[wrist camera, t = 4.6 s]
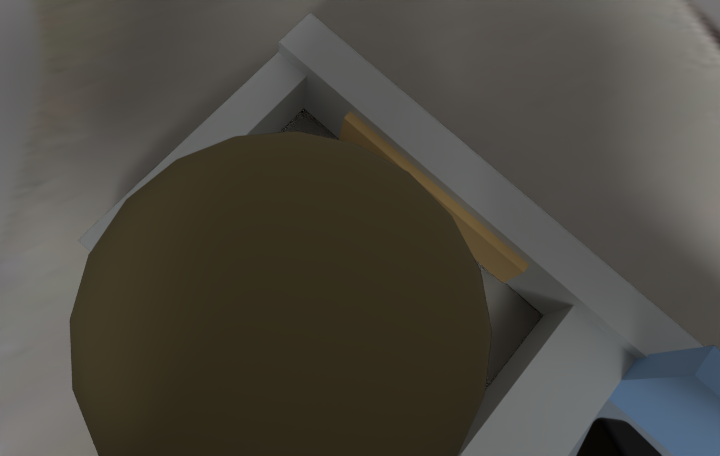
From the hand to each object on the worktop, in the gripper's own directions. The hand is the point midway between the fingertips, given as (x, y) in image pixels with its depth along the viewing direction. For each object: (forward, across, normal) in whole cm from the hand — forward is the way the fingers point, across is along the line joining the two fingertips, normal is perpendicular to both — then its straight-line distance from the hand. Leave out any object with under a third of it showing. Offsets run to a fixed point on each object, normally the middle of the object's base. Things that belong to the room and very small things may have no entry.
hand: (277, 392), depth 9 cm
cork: (+7, 0, +6) cm, 9 cm away
